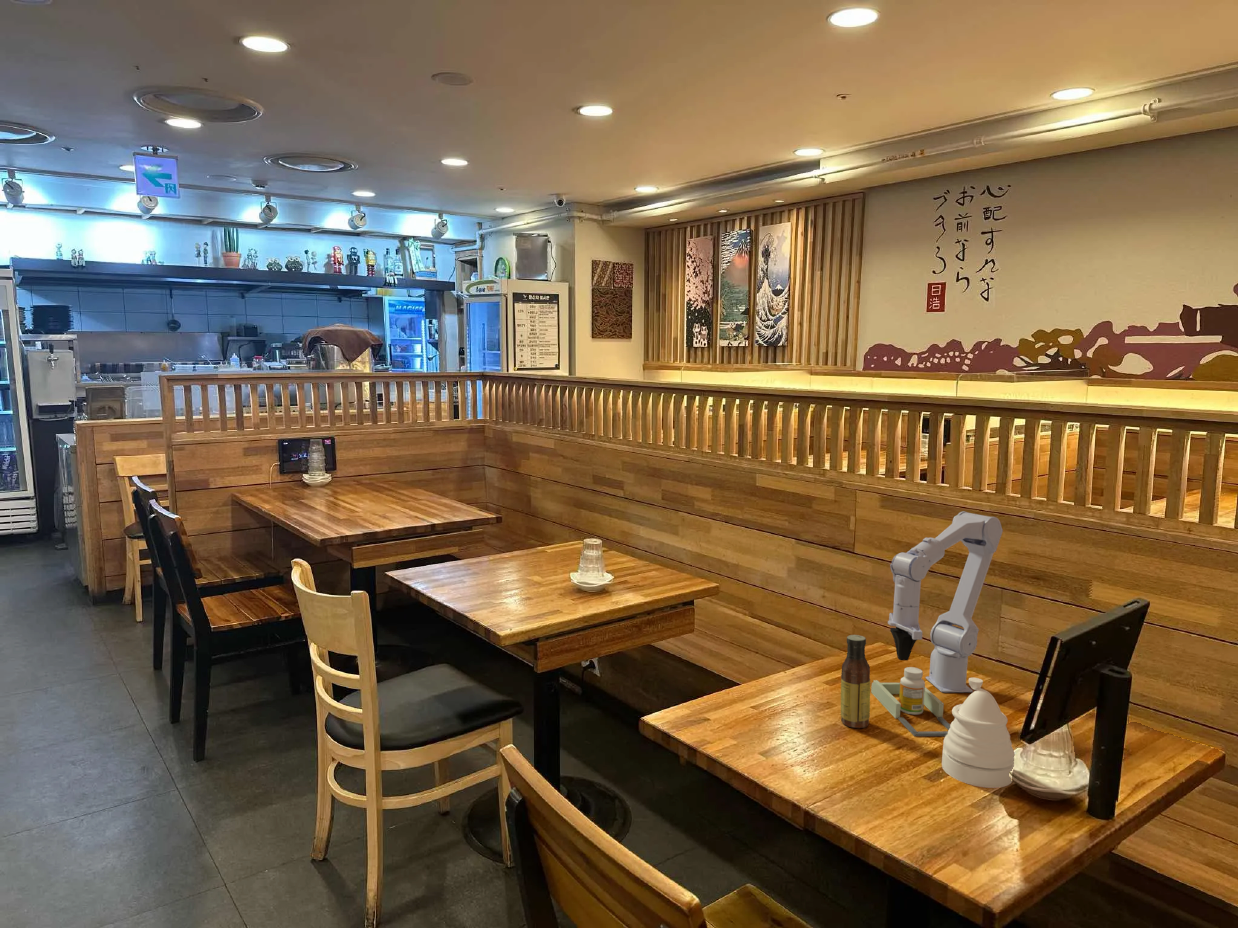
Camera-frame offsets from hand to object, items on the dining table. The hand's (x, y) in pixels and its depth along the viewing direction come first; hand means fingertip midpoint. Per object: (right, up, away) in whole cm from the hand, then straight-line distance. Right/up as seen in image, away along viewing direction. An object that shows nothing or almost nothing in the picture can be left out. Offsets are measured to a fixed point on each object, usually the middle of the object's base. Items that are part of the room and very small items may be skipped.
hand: (902, 659), depth 194 cm
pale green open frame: (0, -10, -2) cm, 11 cm away
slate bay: (+1, -12, -14) cm, 18 cm away
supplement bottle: (0, -11, -5) cm, 12 cm away
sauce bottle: (-15, -12, -13) cm, 23 cm away
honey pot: (+3, -14, -33) cm, 36 cm away
